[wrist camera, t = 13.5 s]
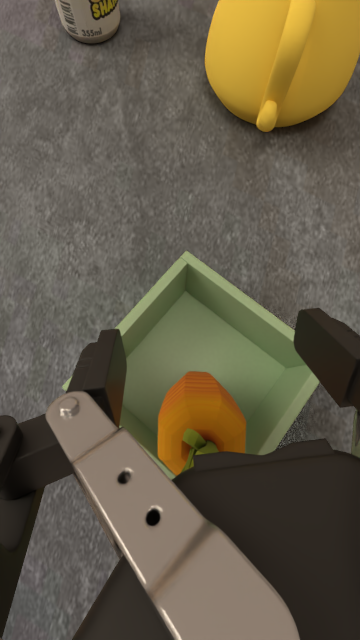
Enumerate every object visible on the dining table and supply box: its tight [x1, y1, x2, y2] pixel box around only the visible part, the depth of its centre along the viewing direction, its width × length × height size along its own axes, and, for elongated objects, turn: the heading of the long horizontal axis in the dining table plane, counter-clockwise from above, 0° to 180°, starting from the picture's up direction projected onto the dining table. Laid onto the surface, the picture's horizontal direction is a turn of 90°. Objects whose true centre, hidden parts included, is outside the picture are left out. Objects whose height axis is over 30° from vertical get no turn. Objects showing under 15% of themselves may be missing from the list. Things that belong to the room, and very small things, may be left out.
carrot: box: [157, 371, 246, 476], centre depth 16 cm, size 5×5×15 cm
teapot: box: [205, 0, 360, 132], centre depth 28 cm, size 25×18×14 cm
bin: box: [62, 251, 320, 480], centre depth 21 cm, size 14×14×7 cm
